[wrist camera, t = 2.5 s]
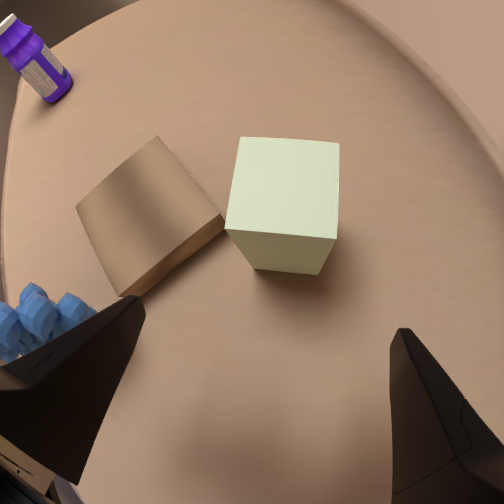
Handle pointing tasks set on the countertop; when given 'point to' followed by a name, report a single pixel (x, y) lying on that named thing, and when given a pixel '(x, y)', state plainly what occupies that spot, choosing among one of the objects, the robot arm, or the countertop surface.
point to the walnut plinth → (147, 219)
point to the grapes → (37, 321)
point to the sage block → (284, 203)
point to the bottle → (33, 59)
